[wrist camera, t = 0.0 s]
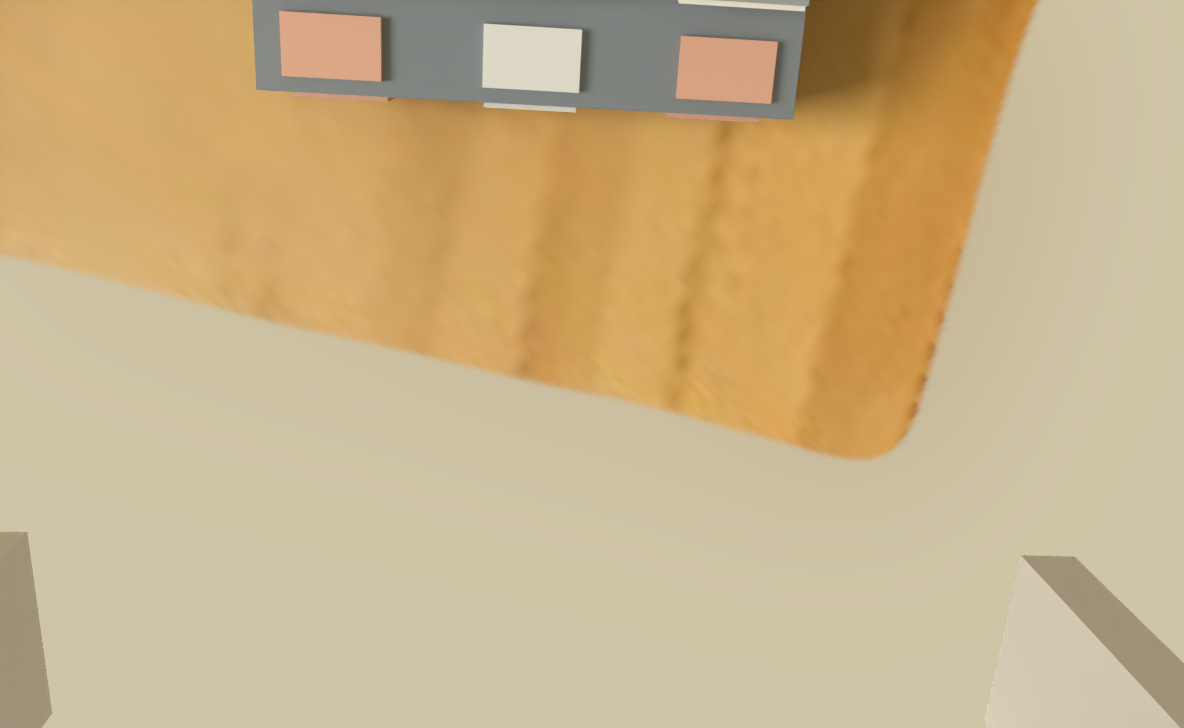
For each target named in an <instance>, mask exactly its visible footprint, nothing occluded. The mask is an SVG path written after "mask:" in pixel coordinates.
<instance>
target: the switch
mask: <svg viewBox="0 0 1184 728" xmlns="http://www.w3.org/2000/svg"><path fill="white" fill-rule="evenodd" d="M809 1H810V0H678V2H679V3H681V4H697V5H712V6H728V7H743V8H759V9H775V10H790V11H805V7H806V6H809Z"/></svg>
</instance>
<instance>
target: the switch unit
mask: <svg viewBox="0 0 1184 728" xmlns="http://www.w3.org/2000/svg"><path fill="white" fill-rule="evenodd" d="M252 4H253V25H254V46H255V67H256V88H257V90H270V91H288V92H293V97H308V98H326V99H344V100H362V101H380V102H388V101H390V100H392V99H394V98H413V99H431V100H449V101H467V102H484V107H488V108H506V109H524V110H542V111H560V112H576V108H592V109H610V110H628V111H646V112H662V113H663V114H665V115H666V116H668V117H669V118H686V119H704V120H722V121H740V122H758V123H759V118H771V119H789V120H793V116H794V108H795V99H796V91H797V83H798V74H799V66H800V58H801V49H802V41H803V33H804V24H805V16H806V8H807V6H806V7H805V11H790V10H775V9H759V8H743V7H728V6H712V5H697V4H681V3H679V2H678V0H252Z"/></svg>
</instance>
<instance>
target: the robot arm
mask: <svg viewBox="0 0 1184 728" xmlns="http://www.w3.org/2000/svg"><path fill="white" fill-rule="evenodd" d="M51 714H52V710H51V702H50V695H49V688H48V680H47V673H46V666H45V658H44V652H43V644H42V637H41V629H40V622H39V615H38V608H37V600H36V593H35V586H34V579H33V571H32V565H31V557H30V549H29V542H28V535H27V532H0V728H42V726H43V725H44V724H45V722H46V721H47V719H48V718H49V717H50V715H51ZM984 723H985V725H986V726H987V728H1184V663H1183V662H1182V661H1181V660H1180V659H1179V658H1178V657H1177V656H1176V655H1175V654H1174V653H1173V652H1172V651H1171V650H1170V649H1169V648H1168V647H1166V646H1165V644H1163V643H1162V642H1161V641H1160V640H1159V639H1158V638H1157V637H1156V636H1155V635H1154V634H1153V633H1152V632H1151V631H1150V630H1149V629H1148V628H1147V627H1146V626H1145V625H1144V624H1143V623H1142V622H1141V621H1140V620H1139V619H1138V618H1137V617H1136V616H1135V615H1134V614H1133V613H1132V612H1131V611H1130V610H1129V609H1128V608H1126V606H1125V605H1123V603H1121V602H1120V601H1119V600H1118V599H1117V598H1116V597H1115V596H1114V595H1113V594H1112V593H1111V592H1110V591H1109V590H1108V589H1107V588H1106V587H1105V586H1104V585H1103V584H1102V583H1101V582H1100V581H1099V580H1098V579H1097V578H1096V577H1095V576H1094V575H1093V574H1092V573H1091V572H1090V571H1089V570H1088V569H1087V568H1085V566H1084V565H1083V564H1082V563H1081V562H1080V561H1078V560H1077V559H1076V558H1075V557H1063V556H1062V557H1059V556H1021V558H1020V563H1019V567H1018V571H1017V576H1016V580H1015V585H1014V590H1013V594H1012V599H1011V603H1010V607H1009V612H1008V617H1007V621H1006V626H1005V630H1004V635H1003V639H1002V644H1001V648H1000V653H999V657H998V662H997V666H996V671H995V675H994V680H993V684H992V689H991V693H990V698H989V702H988V707H987V711H986V716H985V720H984Z"/></svg>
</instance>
